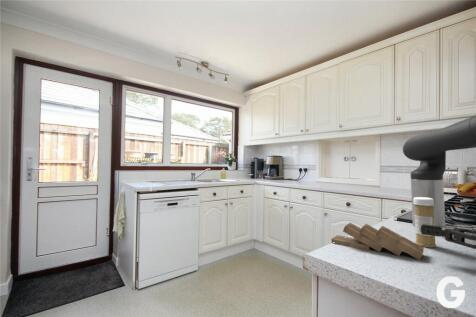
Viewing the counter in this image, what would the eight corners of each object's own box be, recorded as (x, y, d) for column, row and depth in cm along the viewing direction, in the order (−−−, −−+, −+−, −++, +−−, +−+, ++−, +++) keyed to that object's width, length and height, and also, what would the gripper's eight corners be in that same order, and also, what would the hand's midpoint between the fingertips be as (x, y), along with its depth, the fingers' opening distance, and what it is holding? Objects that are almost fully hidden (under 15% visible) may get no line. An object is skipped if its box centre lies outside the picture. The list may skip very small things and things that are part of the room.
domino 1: (383, 246, 65) (347, 227, 71) (385, 241, 65) (350, 222, 71) (379, 252, 61) (342, 231, 67) (382, 246, 61) (345, 225, 67)
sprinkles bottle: (438, 245, 65) (436, 197, 66) (432, 249, 63) (430, 199, 63) (419, 241, 69) (417, 196, 69) (412, 244, 66) (410, 197, 67)
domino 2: (401, 250, 62) (363, 228, 68) (404, 244, 62) (366, 223, 68) (398, 256, 59) (359, 232, 65) (402, 250, 58) (362, 227, 64)
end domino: (373, 247, 67) (337, 240, 73) (372, 241, 67) (337, 234, 73) (369, 252, 63) (331, 244, 70) (368, 246, 63) (331, 238, 70)
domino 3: (420, 253, 60) (379, 230, 66) (423, 248, 59) (382, 225, 65) (419, 260, 56) (375, 235, 62) (423, 254, 55) (379, 229, 61)
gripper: (521, 218, 51) (422, 209, 63) (540, 232, 41) (418, 218, 53) (523, 252, 51) (423, 237, 63) (543, 274, 41) (420, 251, 53)
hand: (421, 229), depth 58 cm, fingers closed
